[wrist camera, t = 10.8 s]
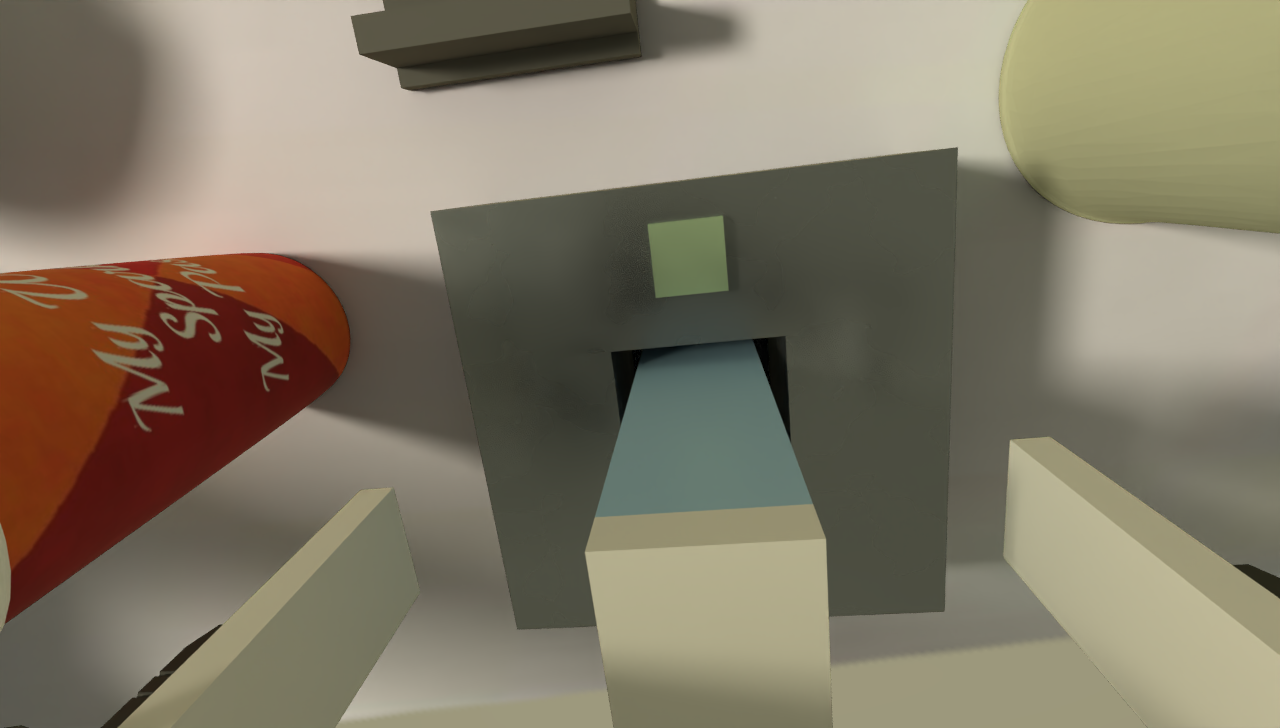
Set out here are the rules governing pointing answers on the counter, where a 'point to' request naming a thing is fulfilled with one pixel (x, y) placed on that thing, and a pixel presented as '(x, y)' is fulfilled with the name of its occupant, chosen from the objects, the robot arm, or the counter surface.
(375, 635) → the robot arm
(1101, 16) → the can
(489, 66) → the dark grey bridge bracket
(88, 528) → the coffee cup
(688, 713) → the plug
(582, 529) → the port
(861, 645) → the counter surface
